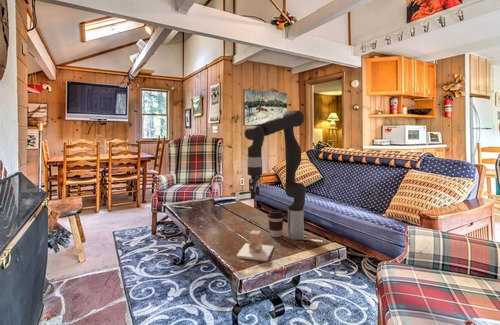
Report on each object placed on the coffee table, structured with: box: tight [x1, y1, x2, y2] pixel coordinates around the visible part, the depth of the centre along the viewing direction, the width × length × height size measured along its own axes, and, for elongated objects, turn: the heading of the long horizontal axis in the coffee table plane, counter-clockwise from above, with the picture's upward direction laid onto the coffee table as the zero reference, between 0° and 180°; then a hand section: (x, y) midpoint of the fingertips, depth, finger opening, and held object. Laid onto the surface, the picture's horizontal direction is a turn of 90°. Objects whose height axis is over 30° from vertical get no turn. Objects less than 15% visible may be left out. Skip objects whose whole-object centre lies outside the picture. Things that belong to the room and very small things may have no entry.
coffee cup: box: [267, 209, 285, 238], centre depth 167 cm, size 10×10×15 cm
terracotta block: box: [249, 229, 262, 244], centre depth 143 cm, size 5×5×5 cm
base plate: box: [236, 242, 274, 262], centre depth 144 cm, size 16×16×1 cm
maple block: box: [249, 239, 263, 253], centre depth 143 cm, size 6×6×5 cm
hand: (255, 196), depth 141 cm, fingers open, 8 cm apart
